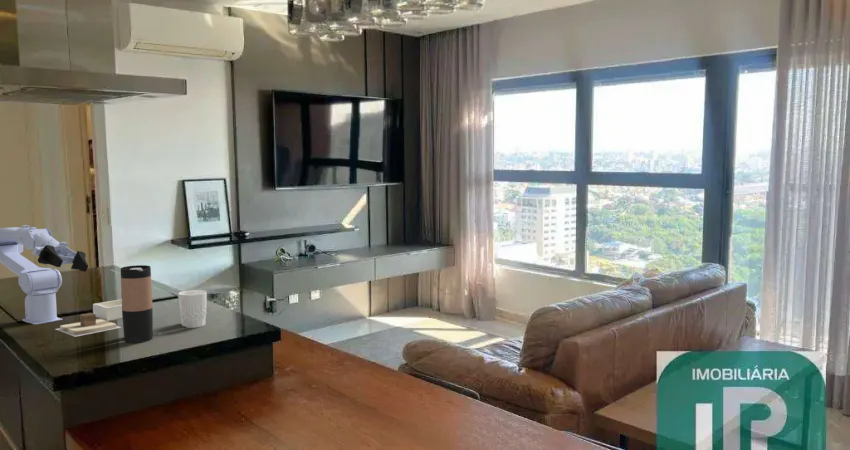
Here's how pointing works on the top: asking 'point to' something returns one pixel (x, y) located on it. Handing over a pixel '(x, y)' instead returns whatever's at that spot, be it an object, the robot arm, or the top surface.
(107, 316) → the white box
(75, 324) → the lid
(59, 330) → the mat
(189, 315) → the white cup
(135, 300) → the travel mug
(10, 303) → the top surface
